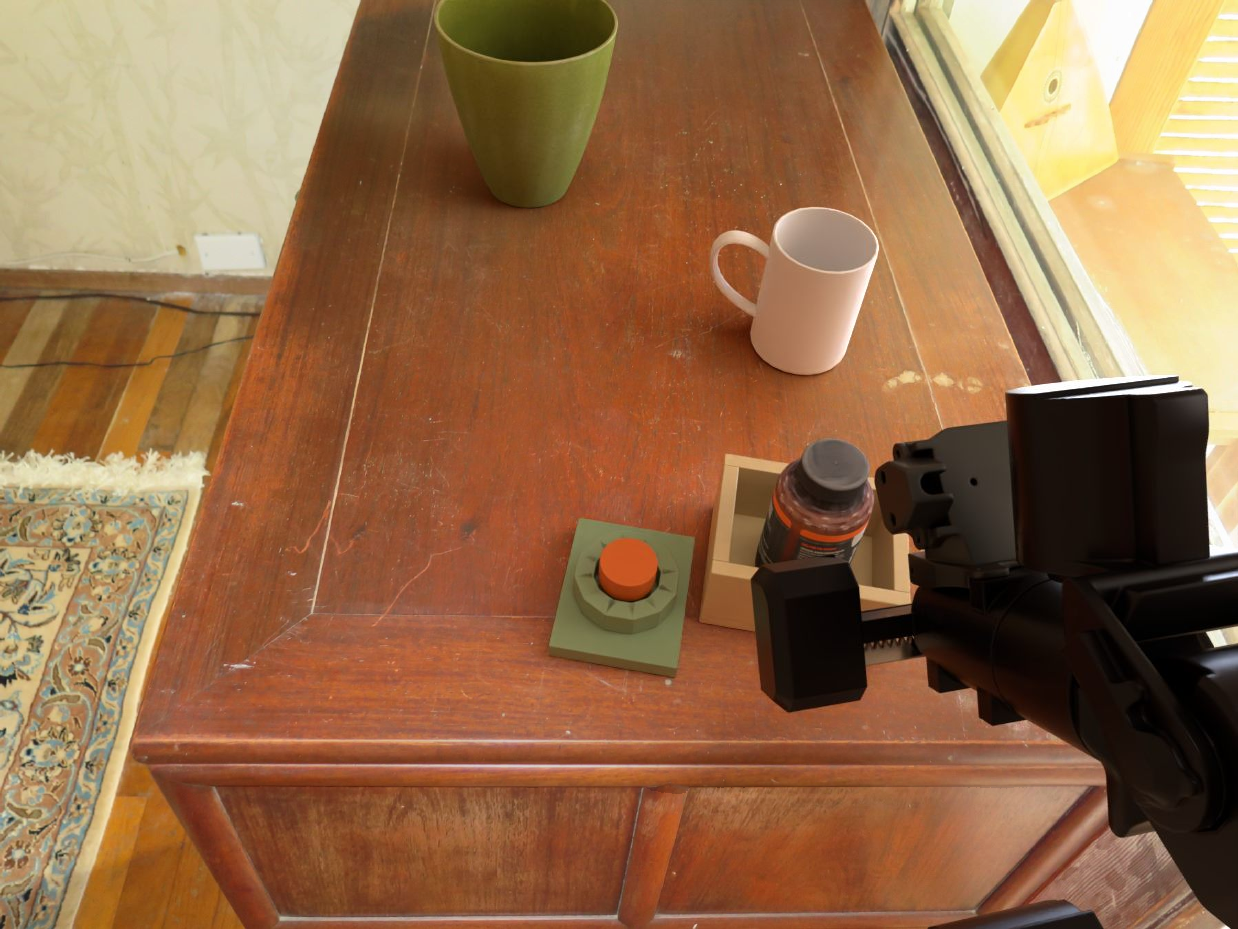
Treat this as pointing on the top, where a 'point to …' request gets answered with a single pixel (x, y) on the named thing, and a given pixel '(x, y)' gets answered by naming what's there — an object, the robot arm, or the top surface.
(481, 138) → the flower pot
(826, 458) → the supplement bottle
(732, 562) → the shallow tan tray box
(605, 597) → the control block
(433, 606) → the top surface
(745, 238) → the mug
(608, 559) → the button
